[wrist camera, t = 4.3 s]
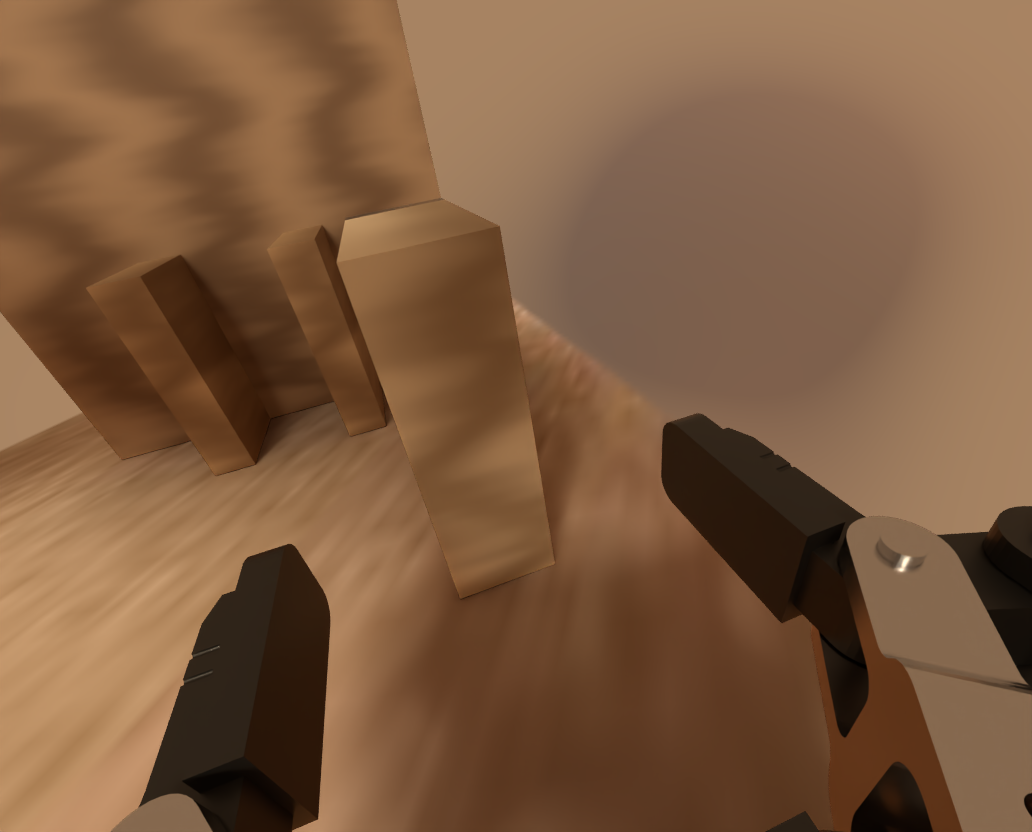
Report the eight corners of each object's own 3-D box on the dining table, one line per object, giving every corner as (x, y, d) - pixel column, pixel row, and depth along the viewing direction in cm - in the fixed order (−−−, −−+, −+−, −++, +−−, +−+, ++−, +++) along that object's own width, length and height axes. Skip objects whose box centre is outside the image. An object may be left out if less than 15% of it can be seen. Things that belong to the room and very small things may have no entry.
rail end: (459, 599, 15) (336, 262, 9) (428, 462, 21) (345, 217, 15) (555, 563, 15) (499, 226, 9) (495, 441, 22) (440, 197, 16)
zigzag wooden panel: (77, 516, 22) (-465, -39, 11) (135, 441, 28) (-186, 28, 17) (496, 393, 26) (391, -111, 15) (471, 350, 32) (382, -37, 21)
